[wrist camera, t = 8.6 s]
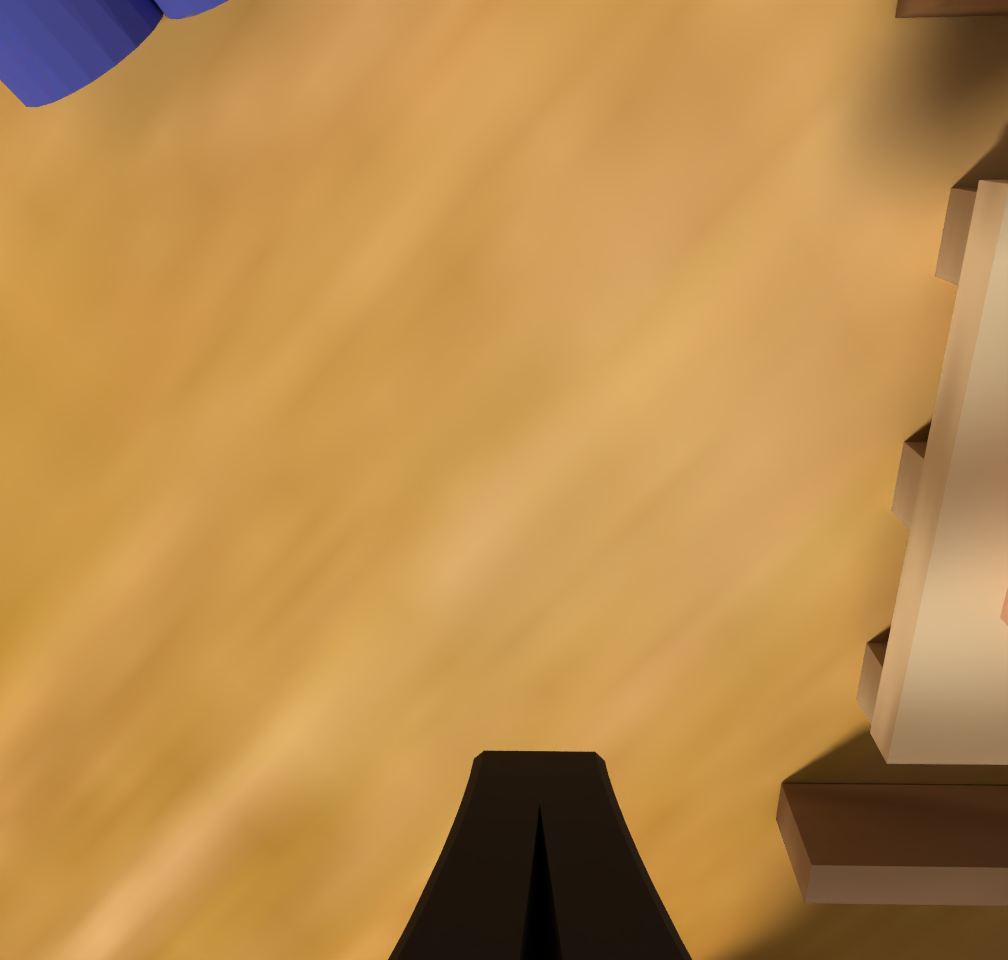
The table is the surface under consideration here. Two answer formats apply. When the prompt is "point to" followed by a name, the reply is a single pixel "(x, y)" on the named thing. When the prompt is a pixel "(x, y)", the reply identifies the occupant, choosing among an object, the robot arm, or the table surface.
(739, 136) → the table surface
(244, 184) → the table surface
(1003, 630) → the plate
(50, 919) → the table surface
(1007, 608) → the pink square block
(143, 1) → the toy
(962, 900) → the dock
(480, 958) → the robot arm
